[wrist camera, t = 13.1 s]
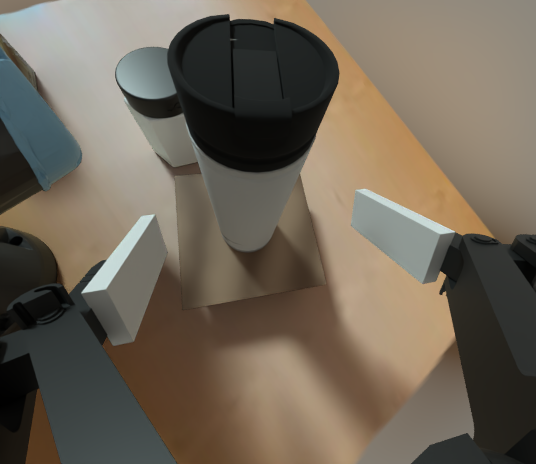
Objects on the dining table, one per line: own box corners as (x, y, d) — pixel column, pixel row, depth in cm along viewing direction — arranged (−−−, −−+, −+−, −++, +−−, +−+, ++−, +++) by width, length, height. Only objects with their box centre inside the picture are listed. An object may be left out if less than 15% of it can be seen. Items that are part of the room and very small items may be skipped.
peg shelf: (194, 308, 29) (182, 310, 23) (186, 197, 33) (174, 176, 27) (311, 287, 31) (326, 284, 25) (289, 186, 35) (297, 164, 30)
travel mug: (221, 257, 25) (149, 118, 6) (220, 204, 27) (164, -31, 8) (275, 254, 26) (366, 124, 7) (271, 202, 28) (332, -13, 9)
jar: (200, 173, 34) (179, 110, 23) (148, 162, 34) (100, 93, 23) (214, 128, 37) (201, 52, 26) (166, 118, 37) (131, 36, 25)
